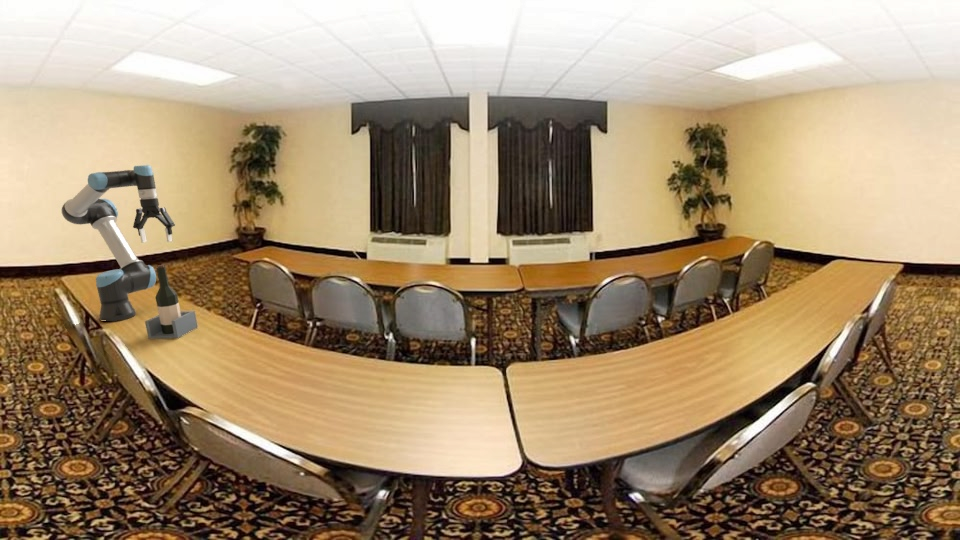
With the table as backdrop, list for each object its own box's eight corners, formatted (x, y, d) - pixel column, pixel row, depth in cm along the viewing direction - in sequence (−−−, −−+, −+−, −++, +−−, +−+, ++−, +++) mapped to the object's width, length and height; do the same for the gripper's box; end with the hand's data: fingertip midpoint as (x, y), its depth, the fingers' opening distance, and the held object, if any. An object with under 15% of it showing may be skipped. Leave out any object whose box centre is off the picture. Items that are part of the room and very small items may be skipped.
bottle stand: (169, 328, 253) (166, 311, 251) (197, 327, 251) (194, 310, 249) (148, 338, 239) (144, 321, 237) (178, 338, 237) (174, 321, 236)
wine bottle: (174, 334, 240) (161, 267, 233) (158, 334, 242) (144, 267, 235) (187, 327, 248) (175, 263, 241) (172, 327, 250) (159, 263, 243)
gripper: (119, 200, 260) (128, 244, 265) (167, 197, 257) (175, 242, 262) (130, 198, 268) (139, 241, 272) (177, 196, 264) (185, 239, 269)
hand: (157, 241), depth 267 cm, fingers open, 13 cm apart
